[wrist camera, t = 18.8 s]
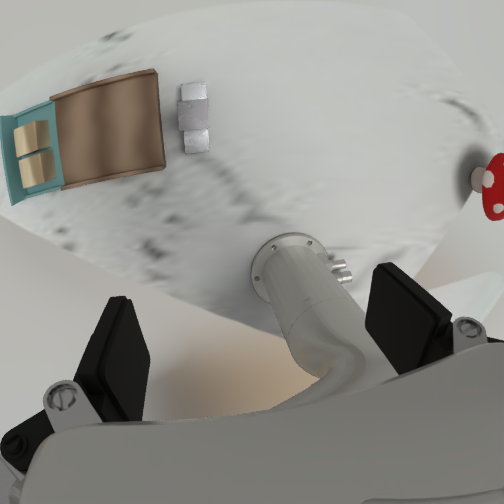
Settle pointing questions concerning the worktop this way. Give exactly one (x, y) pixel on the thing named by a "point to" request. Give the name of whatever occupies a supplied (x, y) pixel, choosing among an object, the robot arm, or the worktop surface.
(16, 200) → the teal tray
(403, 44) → the worktop surface
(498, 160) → the decorative mushroom
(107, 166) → the walnut channel
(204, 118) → the grey stepped block
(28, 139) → the oak block
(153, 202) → the worktop surface
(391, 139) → the worktop surface
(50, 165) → the oak block
